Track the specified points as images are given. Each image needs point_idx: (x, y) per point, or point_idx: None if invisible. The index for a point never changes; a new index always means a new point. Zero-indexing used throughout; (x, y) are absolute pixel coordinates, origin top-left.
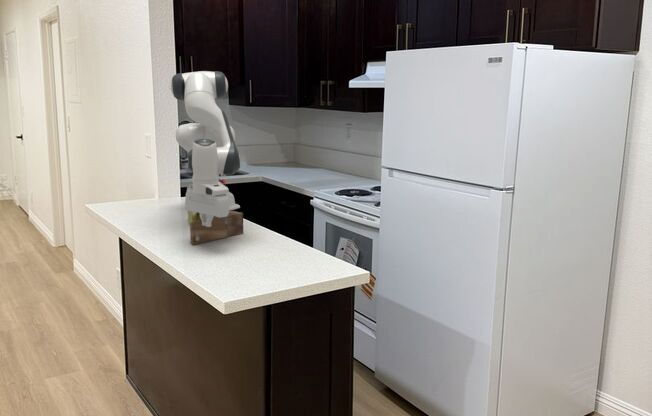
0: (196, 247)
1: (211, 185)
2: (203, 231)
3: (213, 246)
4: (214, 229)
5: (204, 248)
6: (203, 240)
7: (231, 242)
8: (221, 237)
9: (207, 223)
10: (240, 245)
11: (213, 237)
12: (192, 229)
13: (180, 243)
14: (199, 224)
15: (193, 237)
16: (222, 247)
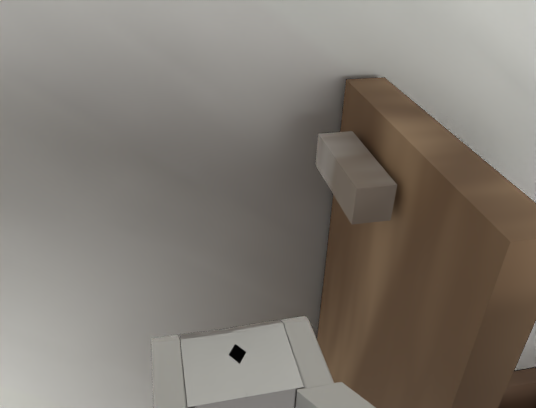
0: (242, 56)
1: None
2: (374, 290)
3: (145, 213)
4: None
5: (135, 100)
6: (337, 222)
7: None
8: None
9: (153, 393)
10: (11, 391)
11: (327, 323)
12: (434, 170)
13: (514, 24)
14: (434, 321)
15: (376, 126)
16: (45, 257)
